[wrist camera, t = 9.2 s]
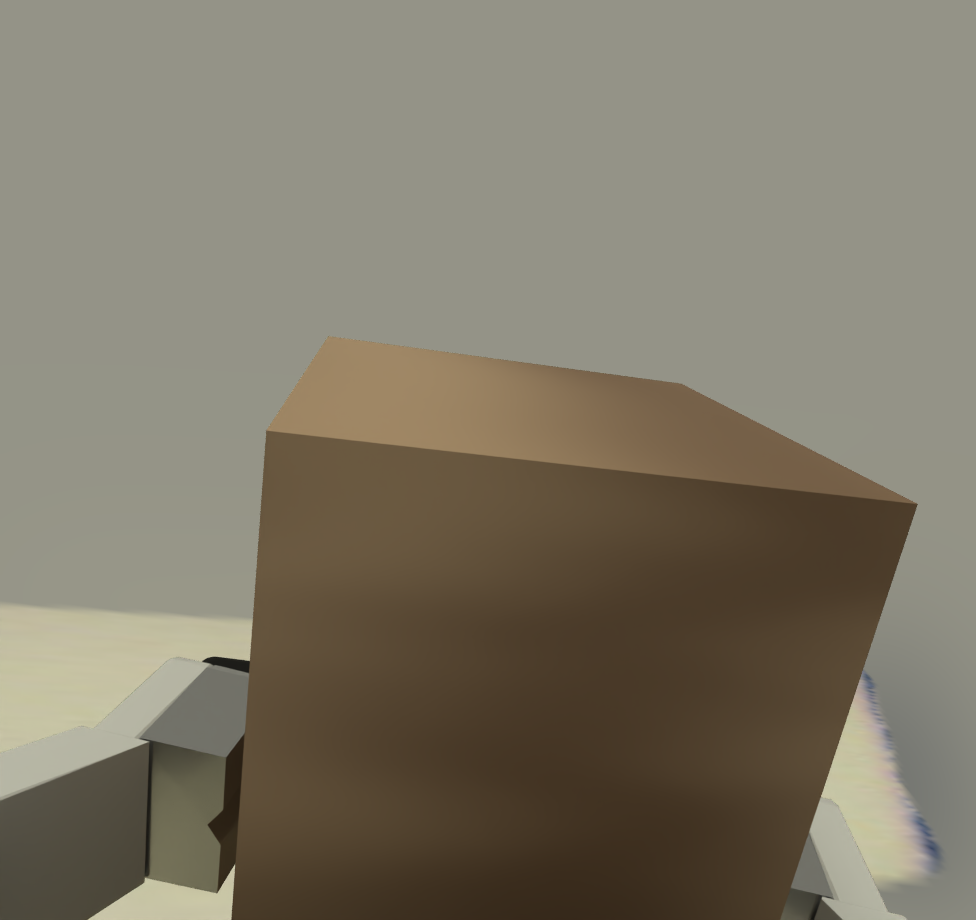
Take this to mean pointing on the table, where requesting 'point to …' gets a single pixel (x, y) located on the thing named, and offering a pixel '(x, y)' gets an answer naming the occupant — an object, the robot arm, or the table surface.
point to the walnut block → (543, 645)
